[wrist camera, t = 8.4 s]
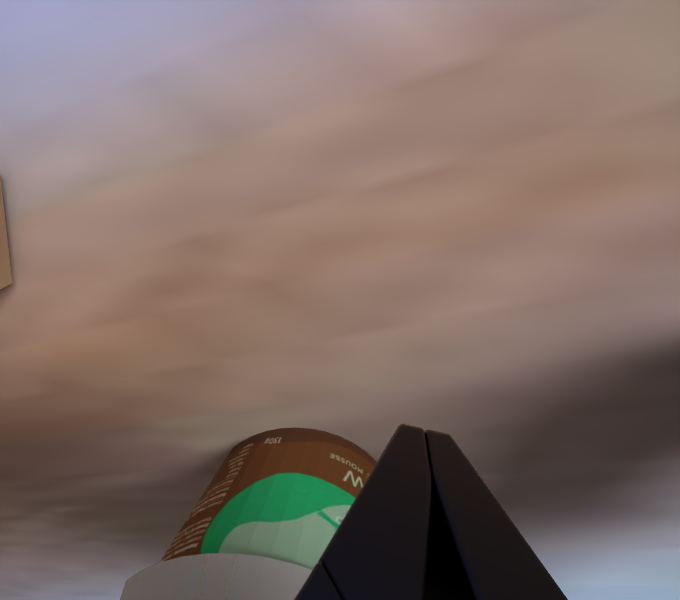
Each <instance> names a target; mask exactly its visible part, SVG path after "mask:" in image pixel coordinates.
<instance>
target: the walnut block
mask: <svg viewBox="0 0 680 600" xmlns="http://www.w3.org/2000/svg"><path fill="white" fill-rule="evenodd" d="M11 283H12V275H11V266H10V257H9V248H8V239H7V231H6V222H5V213H4V204H3V195H2V186H1V178H0V289H2V288H4V287H6V286H8V285H10V284H11Z"/></svg>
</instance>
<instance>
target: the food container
mask: <svg viewBox="0 0 680 600" xmlns="http://www.w3.org/2000/svg"><path fill="white" fill-rule="evenodd" d="M376 463H377V462H376V460H374V459H373V458H372V457H371V456H370V455H369V454H368V453H367V452H366V451H364V450H363V449H361V448H360V447H358V446H357V445H355V444H354V443H352V442H350V441H348V440H346V439H344V438H342V437H339V436H336V435H334V434H331V433H328V432H324V431H319V430H314V429H307V428H281V429H275V430H270V431H266V432H263V433H260V434H257V435H254V436H252V437H250V438H248V439H246V440H244V441H242V442H241V443H240V444H239V445H237V446H236V447H235V448H233V449H232V450H231V452H230V453H229V455H228V456H227V458H226V460H225V461H224V463H223V464H222V466H221V467H220V469H219V471H218V472H217V474H216V475H215V477H214V478H213V480H212V481H211V483H210V485H209V486H208V488H207V489H206V491H205V492H204V494H203V496H202V497H201V499H200V500H199V502H198V503H197V505H196V506H195V508H194V510H193V511H192V513H191V514H190V516H189V517H188V519H187V521H186V522H185V524H184V525H183V527H182V528H181V530H180V531H179V533H178V535H177V536H176V538H175V539H174V541H173V542H172V544H171V546H170V547H169V549H168V550H167V552H166V553H165V555H164V556H163V558H162V560H161V561H160V563H157V564H155V565H153V566H151V567H148V568H146V569H144V570H142V571H140V572H138V573H137V574H135V575H134V576H132V577H131V578H129V579H128V580H127V581H126V584H125V587H124V590H123V593H122V595H121V598H120V600H294V599H295V597H296V596H297V594H298V593H299V591H300V590H301V588H302V586H303V585H304V583H305V582H306V580H307V578H308V577H309V575H310V573H311V572H312V570H313V568H314V567H315V565H316V564H317V563H318V561H319V559H320V557H321V556H322V554H323V552H324V551H325V549H326V547H327V545H328V544H329V542H330V540H331V539H332V537H333V535H334V534H335V532H336V530H337V529H338V527H339V525H340V524H341V522H342V520H343V519H344V517H345V515H346V514H347V512H348V510H349V509H350V507H351V505H352V504H353V502H354V500H355V499H356V497H357V495H358V493H359V492H360V490H361V488H362V487H363V485H364V483H365V482H366V480H367V478H368V477H369V475H370V473H371V472H372V470H373V468H374V467H375V465H376Z"/></svg>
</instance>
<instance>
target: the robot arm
mask: <svg viewBox="0 0 680 600" xmlns="http://www.w3.org/2000/svg"><path fill="white" fill-rule="evenodd" d="M294 600H568V599H567V598H566V596H565V595H564V594H563V592H562V591H561V589H560V588H559V587H558V585H557V584H556V582H555V581H554V580H553V578H552V577H551V575H550V574H549V573H548V571H547V570H546V568H545V567H544V566H543V564H542V563H541V561H540V560H539V559H538V557H537V556H536V554H535V553H534V552H533V550H532V549H531V547H530V546H529V545H528V543H527V542H526V540H525V539H524V538H523V536H522V535H521V533H520V532H519V531H518V529H517V528H516V527H515V525H514V524H513V522H512V521H511V520H510V518H509V517H508V515H507V514H506V513H505V511H504V510H503V508H502V507H501V506H500V504H499V503H498V501H497V500H496V499H495V497H494V496H493V494H492V493H491V492H490V490H489V489H488V487H487V486H486V485H485V483H484V482H483V480H482V479H481V478H480V476H479V475H478V473H477V472H476V471H475V469H474V468H473V466H472V465H471V464H470V462H469V461H468V459H467V458H466V457H465V455H464V454H463V452H462V451H461V450H460V448H459V447H458V445H457V444H456V443H455V441H454V440H453V438H452V437H451V436H450V435H448V434H446V433H441V432H437V431H432V430H426V431H425V432H424V430H423V429H422V428H419V427H415V426H410V425H406V424H401V425H399V426H398V428H397V430H396V431H395V433H394V435H393V436H392V438H391V440H390V441H389V443H388V445H387V446H386V448H385V450H384V452H383V453H382V455H381V457H380V458H379V460H378V462H377V463H376V465H375V467H374V468H373V470H372V472H371V473H370V475H369V477H368V478H367V480H366V482H365V483H364V485H363V487H362V488H361V490H360V492H359V493H358V495H357V497H356V499H355V500H354V502H353V504H352V505H351V507H350V509H349V510H348V512H347V514H346V515H345V517H344V519H343V520H342V522H341V524H340V525H339V527H338V529H337V530H336V532H335V534H334V535H333V537H332V539H331V540H330V542H329V544H328V545H327V547H326V549H325V551H324V552H323V554H322V556H321V557H320V559H319V561H318V563H317V564H316V565H315V567H314V568H313V570H312V572H311V573H310V575H309V577H308V578H307V580H306V582H305V583H304V585H303V586H302V588H301V590H300V591H299V593H298V594H297V596H296V597H295V599H294Z"/></svg>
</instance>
